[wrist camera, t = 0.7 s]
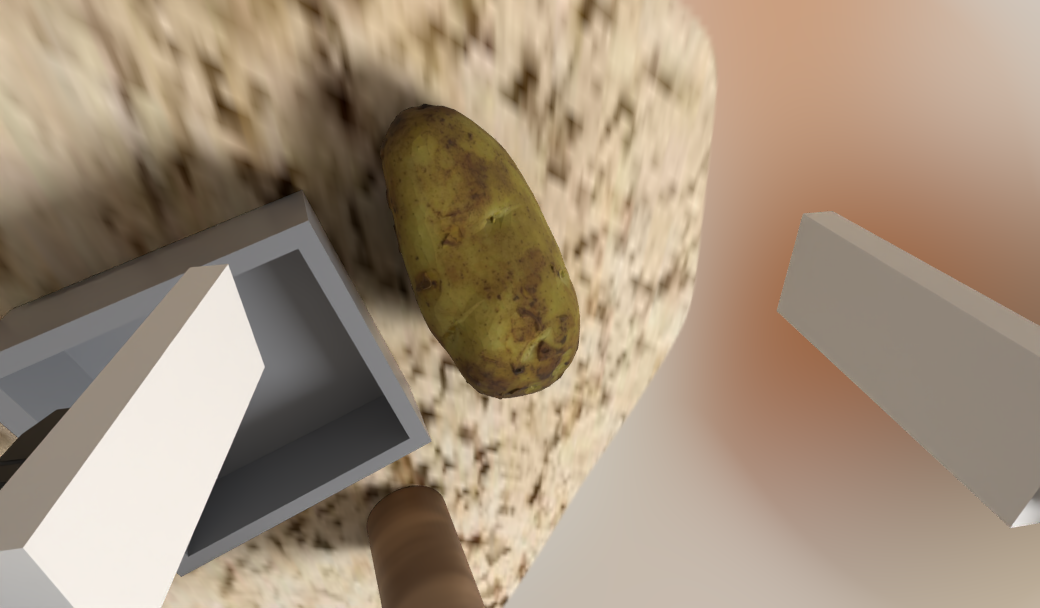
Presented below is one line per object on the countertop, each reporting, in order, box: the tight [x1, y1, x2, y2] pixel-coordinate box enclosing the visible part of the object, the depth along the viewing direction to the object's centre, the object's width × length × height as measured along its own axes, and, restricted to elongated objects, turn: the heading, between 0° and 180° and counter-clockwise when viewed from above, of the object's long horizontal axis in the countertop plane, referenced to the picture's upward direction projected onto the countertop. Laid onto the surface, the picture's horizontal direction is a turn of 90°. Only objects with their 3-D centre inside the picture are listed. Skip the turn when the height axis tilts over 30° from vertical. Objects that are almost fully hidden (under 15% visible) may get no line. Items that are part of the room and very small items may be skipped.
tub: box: [0, 190, 431, 577], centre depth 23 cm, size 12×12×5 cm
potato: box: [380, 104, 580, 399], centre depth 24 cm, size 8×13×8 cm, turn 0°
